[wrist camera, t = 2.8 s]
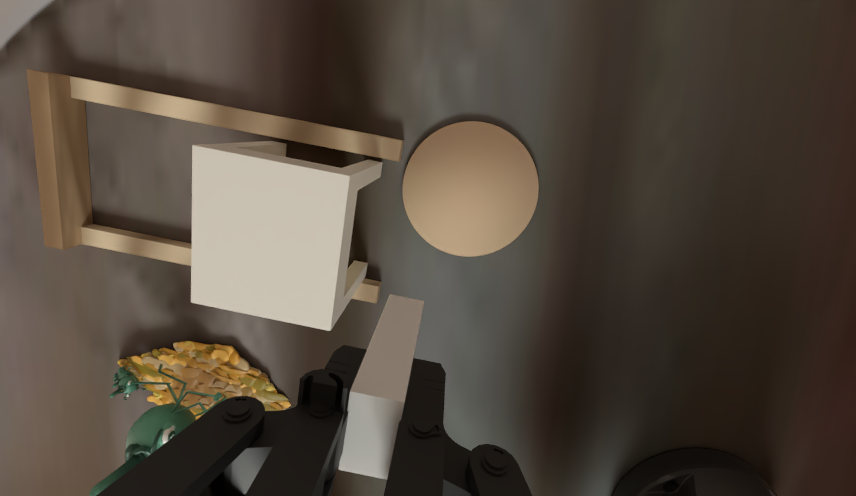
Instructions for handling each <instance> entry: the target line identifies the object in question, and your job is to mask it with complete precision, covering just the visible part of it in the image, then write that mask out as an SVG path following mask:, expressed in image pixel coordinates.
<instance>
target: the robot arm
mask: <svg viewBox="0 0 856 496" xmlns="http://www.w3.org/2000/svg"><path fill="white" fill-rule="evenodd" d="M423 305H424V301H421V300H416V299H411V298H406V297H401V296H396V295H391V294H390V295H389V297H388V300H387V302H386V305H385V307H384V310H383V312H382V315H381V317H380V319H379V322H378V324H377V327H376V329H375V332H374V334H373V337H372V339H371V341H370V344H369V346H368V349H367V350H366V349H361V348H356V347H351V346H346V345H343V346H342V347H340V348H339V349H337V350H336V351H334V353H333V354H332V356H331V358H330V360H329V362H328V363H327V365H326V367H325V369H319V370H313V371H311V372H309V373H306V374H305V375H304V376H303V377H302V378H301V379H300V385H299V395H298V404H297V406H296V407H294V408H291V409H288V410H279V411H265V407H264V405H263V403H262V402H261V401H259V400H258V399H256V398H254V397H249V396H235V397H232V398H228V399H225V400H224V401H222V402H220V403H218V404H217V405H215V406H214V407H213V408H211V409H210V410H209V411H207V412H206V413H205V414H203V415H202V416H201V417H199V418H198V419H197V420H195V421H194V422H193V423H191V424H190V425H189V426H187V427H186V428H185V429H184V430H182V431H181V432H180V433H178V434H177V435H176V436H174V437H173V438H172V439H170V440H169V441H168V442H166V443H165V444H164V445H162V446H161V447H160V448H158V449H157V450H156V451H154V452H153V453H152V454H150V455H149V456H148V457H146V458H145V459H144V460H142V461H141V462H140V463H138V464H137V465H136V466H134V467H133V468H132V469H131V470H129V471H128V472H127V473H125V474H124V475H123V476H121V477H120V478H119V479H117V480H116V481H115V482H113V483H112V484H111V485H109V486H108V487H107V488H105V489H104V490H103V491H101V492H100V493H99V494H97V495H96V496H330V495H331V492H332V489H333V486H334V479H335V472H336V470H337V467H338V464H339V469H338V470H343V471H347V472H352V473H357V474H362V475H367V476H372V477H376V478H381V479H386V480H387V483H386V488H385V493H384V496H532V494H531V492H530V490H529V487H528V485H527V483H526V481H525V478H524V476H523V474H522V472H521V470H520V467H519V465H518V463H517V462H516V460H515V459H514V457H513V456H512V455H511V454H509V453H508V452H507V451H506V450H504V449H502V448H500V447H498V446H495V445H490V444H484V445H478V446H477V447H475V448H474V449H473V450H472V451H470V450H468V449H466V448H464V447H462V446H460V445H458V444H457V443H455V442H454V441H453V440H452V439H451V438H450V437H449V436H448V435H447V433H446V431H445V429H444V425H443V415H444V395H445V393H444V392H445V375H446V373H445V371H444V369H443V368H442V366H441V364H440V363H435V362H430V361H425V360H420V359H415V358H413V357H414V351H415V346H416V341H417V336H418V331H419V326H420V321H421V316H422V310H423ZM339 461H340V463H339ZM613 496H777V495H776V493H775V492H774V490H773V489H772V488H771V487H770V486H769V485H768V484H767V482H766V481H765V480H764V479H763V478H762V477H761V475H760V474H759V473H758V472H757V471H756V470H755V469H754V468H753V467H752V466H751V465H749V464H748V463H747V462H745V461H744V460H742V459H740V458H738V457H736V456H734V455H731V454H728V453H725V452H722V451H718V450H712V449H702V448H691V449H680V450H675V451H670V452H666V453H663V454H660V455H657V456H655V457H653V458H650V459H648V460H646V461H645V462H643V463H641V464H640V465H638V466H637V467H635V468H634V469H633V470H631V471H630V472H629V473H628V474H627V475H626V476H625V477H624V478H623V479H622V480H621V482H620V483H619V485H618V486H617V488H616V489H615V491H614V493H613Z"/></svg>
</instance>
